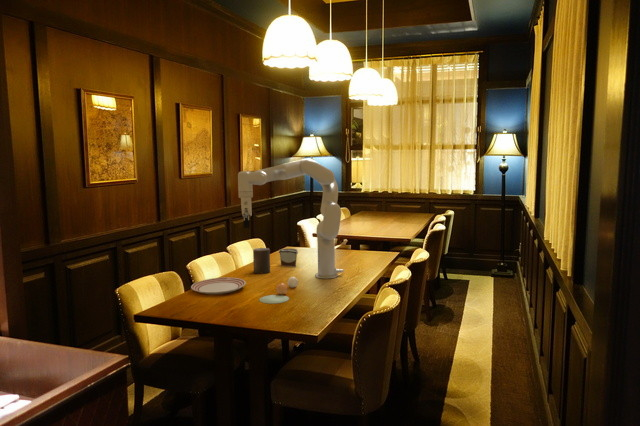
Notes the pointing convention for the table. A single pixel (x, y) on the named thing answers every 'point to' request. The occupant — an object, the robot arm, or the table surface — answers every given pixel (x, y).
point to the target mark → (274, 299)
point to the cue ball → (292, 282)
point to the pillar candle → (261, 260)
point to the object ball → (281, 288)
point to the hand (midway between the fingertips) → (246, 226)
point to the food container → (288, 257)
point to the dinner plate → (218, 285)
